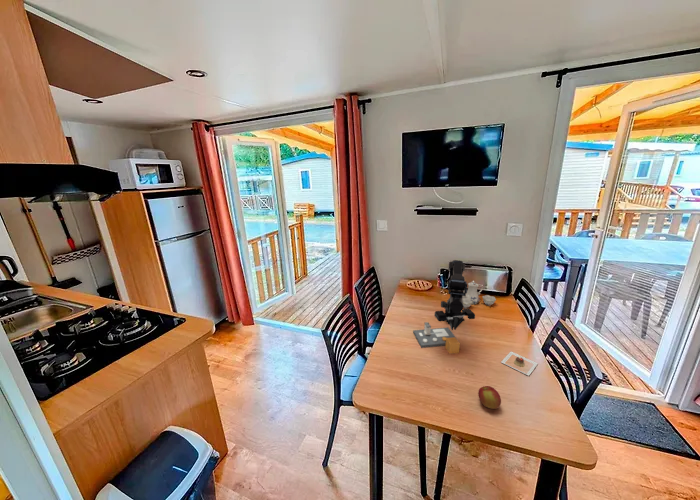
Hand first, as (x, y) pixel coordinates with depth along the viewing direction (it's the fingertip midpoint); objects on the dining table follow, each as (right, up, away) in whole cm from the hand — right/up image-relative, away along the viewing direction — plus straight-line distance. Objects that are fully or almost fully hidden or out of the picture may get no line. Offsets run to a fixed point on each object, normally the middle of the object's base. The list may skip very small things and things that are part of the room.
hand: (453, 329), depth 136 cm
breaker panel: (-5, -9, +14) cm, 17 cm away
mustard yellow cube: (+1, -12, +3) cm, 12 cm away
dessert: (+29, -15, -7) cm, 33 cm away
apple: (+3, -22, -29) cm, 36 cm away
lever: (-9, -7, +15) cm, 19 cm away
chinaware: (+33, +3, +49) cm, 60 cm away
